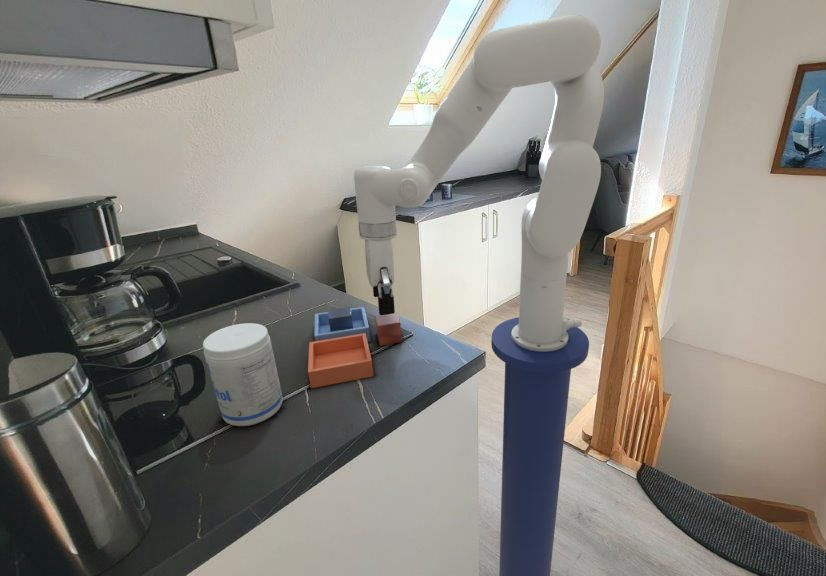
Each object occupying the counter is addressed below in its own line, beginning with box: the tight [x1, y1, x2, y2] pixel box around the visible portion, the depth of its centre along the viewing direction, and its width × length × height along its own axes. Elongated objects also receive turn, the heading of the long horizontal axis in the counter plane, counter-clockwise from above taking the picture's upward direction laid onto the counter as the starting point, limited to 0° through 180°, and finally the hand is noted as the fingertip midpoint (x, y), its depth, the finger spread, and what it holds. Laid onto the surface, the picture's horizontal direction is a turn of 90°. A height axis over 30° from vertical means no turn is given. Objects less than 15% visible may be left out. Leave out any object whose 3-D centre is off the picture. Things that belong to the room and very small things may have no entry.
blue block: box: [327, 306, 353, 332], centre depth 94 cm, size 5×5×5 cm
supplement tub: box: [202, 322, 284, 427], centre depth 67 cm, size 10×10×15 cm
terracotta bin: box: [307, 333, 374, 389], centre depth 82 cm, size 12×12×4 cm
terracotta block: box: [374, 312, 403, 346], centre depth 92 cm, size 5×5×5 cm
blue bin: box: [313, 306, 371, 343], centre depth 94 cm, size 12×12×4 cm
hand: (383, 304), depth 89 cm, fingers open, 9 cm apart
